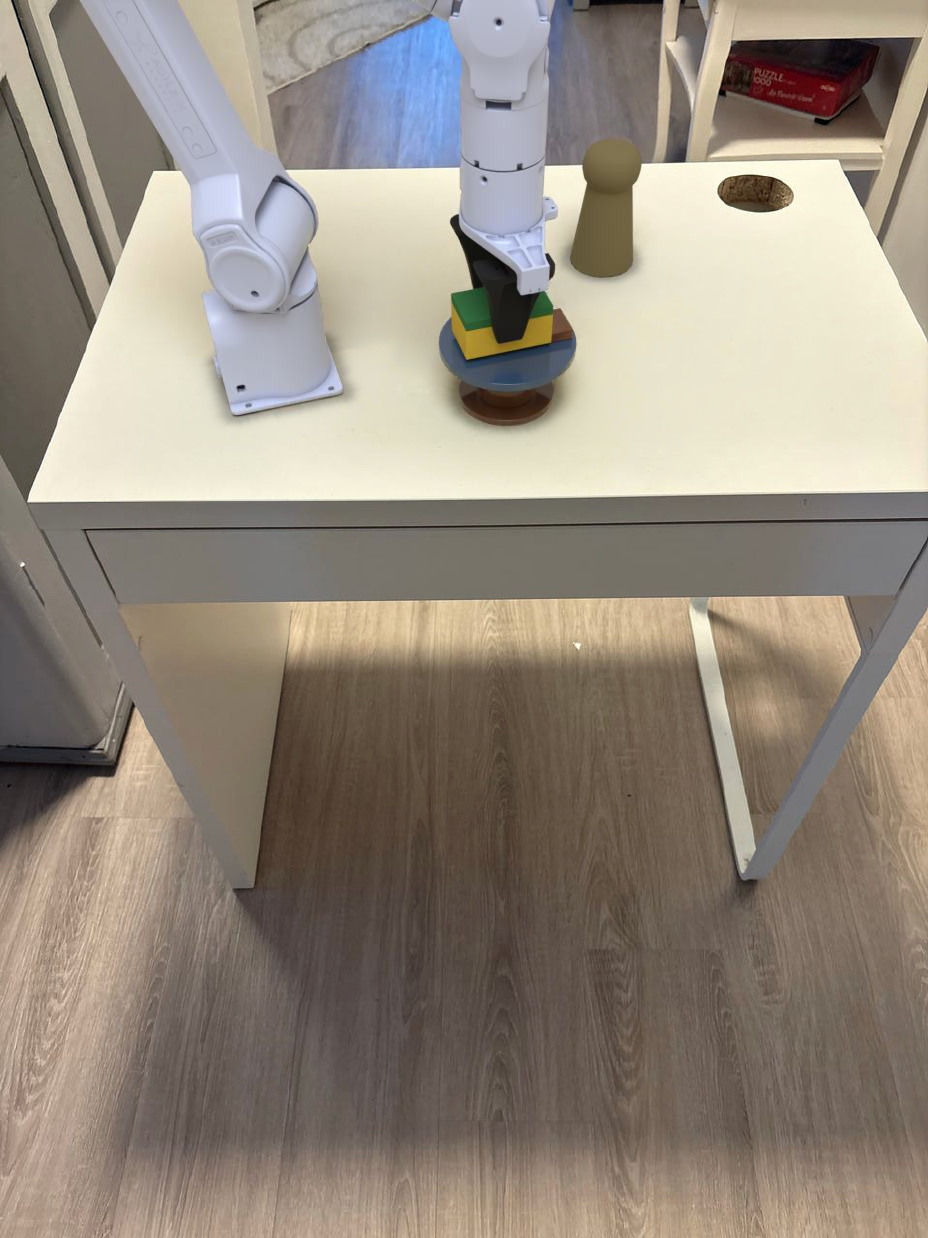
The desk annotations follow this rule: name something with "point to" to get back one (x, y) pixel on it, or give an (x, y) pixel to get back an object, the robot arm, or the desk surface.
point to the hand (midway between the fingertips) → (500, 321)
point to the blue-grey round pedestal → (507, 378)
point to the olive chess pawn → (607, 209)
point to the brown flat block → (560, 327)
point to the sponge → (477, 330)
